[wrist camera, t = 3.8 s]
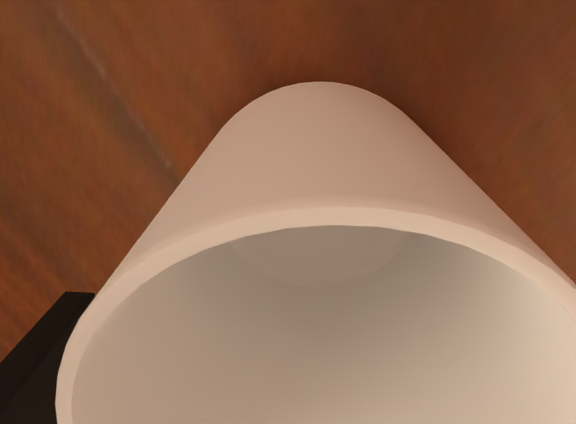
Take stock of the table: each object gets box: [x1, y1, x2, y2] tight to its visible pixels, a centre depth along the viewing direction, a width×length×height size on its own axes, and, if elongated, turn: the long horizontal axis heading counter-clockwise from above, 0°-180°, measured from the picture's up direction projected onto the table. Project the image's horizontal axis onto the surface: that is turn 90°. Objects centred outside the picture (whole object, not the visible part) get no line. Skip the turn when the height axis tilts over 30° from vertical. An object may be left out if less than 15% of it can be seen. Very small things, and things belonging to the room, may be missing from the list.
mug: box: [55, 82, 576, 424], centre depth 12 cm, size 12×8×10 cm
